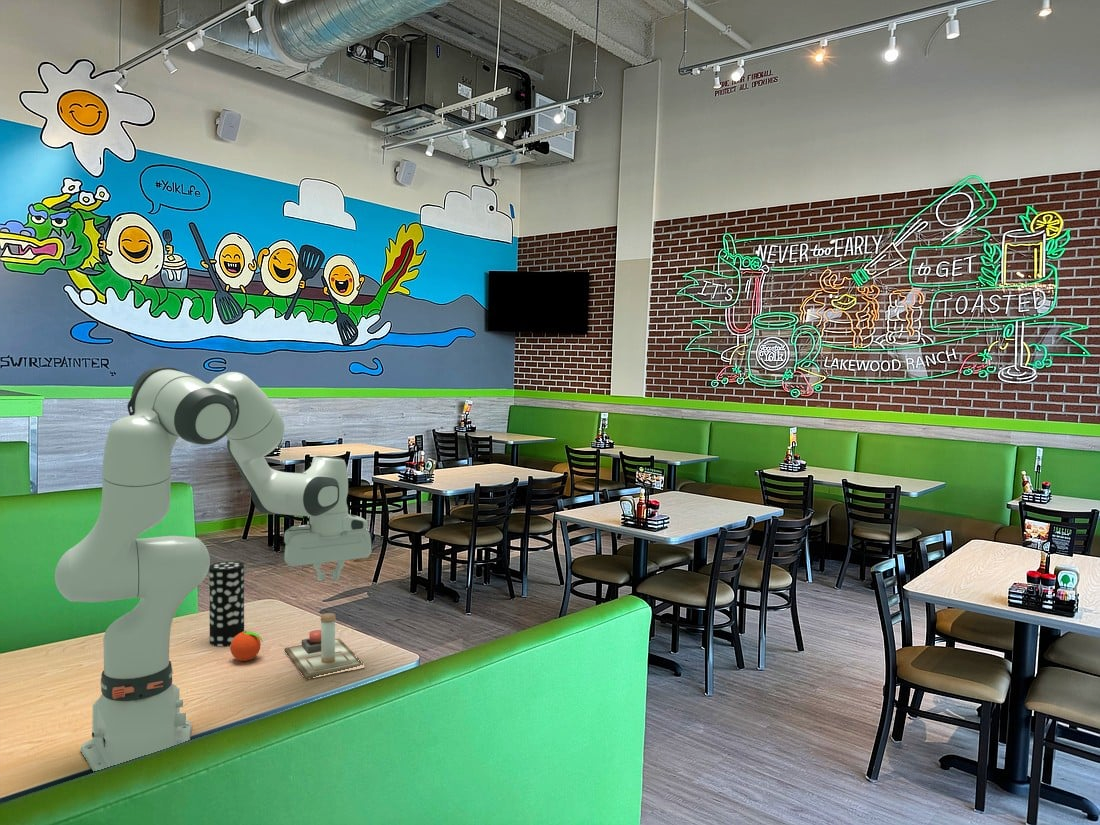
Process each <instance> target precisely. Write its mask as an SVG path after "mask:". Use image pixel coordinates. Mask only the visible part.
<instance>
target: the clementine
mask: <svg viewBox="0 0 1100 825" xmlns="http://www.w3.org/2000/svg"><path fill="white" fill-rule="evenodd" d="M261 642H262V643H264V641H263V639H262V638H261V636H260V635H259V634H257V633H255V632H252V631H249V630H248V631H247V630H246V631H245V630H244V632H241V633H239V634H238V635H236V636H235V637H234V639H233V640H232V642H231V646H229V649H230V654H231V655H232V657H234V659H236V660H238V661H240V662H247V661H251V660H253V659H254V658H255V657H257V655H258V654H259V653H260V650H261V647H262V643H261Z"/></svg>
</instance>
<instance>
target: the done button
mask: <svg viewBox="0 0 1100 825" xmlns="http://www.w3.org/2000/svg"><path fill="white" fill-rule="evenodd" d="M308 637H309V638H308V639H309V641H311V642H320V641H321V629H316V630H311V631H310V632H309V636H308Z"/></svg>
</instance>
